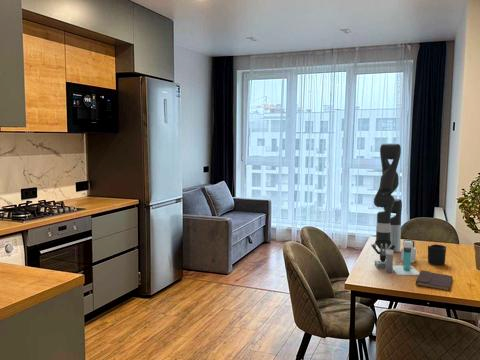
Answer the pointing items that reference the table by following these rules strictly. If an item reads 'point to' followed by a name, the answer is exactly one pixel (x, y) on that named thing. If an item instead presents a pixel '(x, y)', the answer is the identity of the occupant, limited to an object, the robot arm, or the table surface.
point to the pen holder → (436, 254)
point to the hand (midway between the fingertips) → (382, 261)
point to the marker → (407, 259)
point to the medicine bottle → (413, 250)
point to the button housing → (380, 265)
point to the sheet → (400, 271)
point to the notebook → (434, 280)
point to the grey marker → (389, 261)
